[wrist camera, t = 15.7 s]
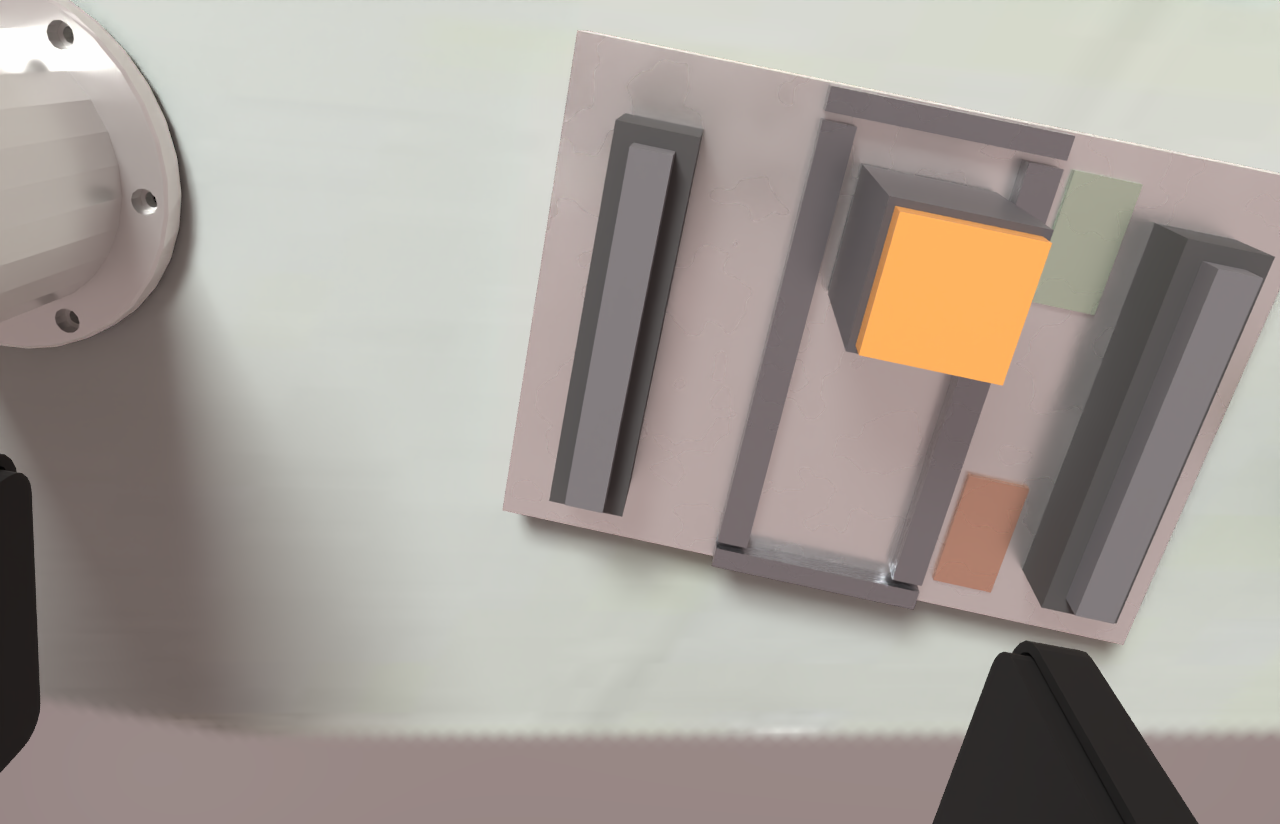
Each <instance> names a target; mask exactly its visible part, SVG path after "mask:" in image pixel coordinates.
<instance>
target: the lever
mask: <svg viewBox="0 0 1280 824" xmlns="http://www.w3.org/2000/svg"><path fill="white" fill-rule="evenodd" d="M1053 231H1054V230H1053V229H1051V228H1050V227H1048V226H1047V225H1045V224H1044V223H1042V222H1041V221H1039V220H1038V219H1036V218H1035V217H1033V216H1032V215H1030V214H1029V213H1027V212H1026V211H1024V210H1022V209H1021V208H1019V207H1018V206H1016V205H1015V204H1013V203H1012V202H1010V201H1009V200H1007V199H1006V198H1004V197H1003V196H1001V195H1000V194H998V193H997V192H994V191H989V190H984V189H979V188H974V187H970V186H965V185H960V184H955V183H950V182H946V181H941V180H936V179H931V178H926V177H921V176H917V175H912V174H907V173H902V172H897V171H892V170H888V169H883V168H878V167H873V166H868V165H864V164H862V167H861V171H860V175H859V178H858V182H857V186H856V190H855V193H854V197H853V201H852V205H851V208H850V212H849V216H848V220H847V223H846V227H845V231H844V235H843V238H842V242H841V246H840V250H839V253H838V257H837V261H836V264H835V268H834V272H833V276H832V279H831V283H830V287H829V291H828V296H829V299H830V302H831V306H832V309H833V312H834V315H835V318H836V322H837V325H838V328H839V331H840V335H841V338H842V341H843V344H844V347H845V351H846V352H851V353H856V354H859V355H860V356H865V357H870V358H875V359H879V360H884V361H889V362H893V363H898V364H903V365H908V366H912V367H917V368H922V369H926V370H931V371H936V372H941V373H945V374H950V375H955V376H960V377H964V378H969V379H974V380H978V381H983V382H988V383H993V384H997V385H1002V386H1003V384H1004V381H1005V378H1006V375H1007V372H1008V369H1009V366H1010V363H1011V360H1012V358H1013V355H1014V352H1015V349H1016V346H1017V343H1018V340H1019V337H1020V335H1021V332H1022V329H1023V326H1024V323H1025V320H1026V317H1027V314H1028V311H1029V309H1030V306H1031V303H1032V300H1033V297H1034V294H1035V291H1036V288H1037V286H1038V283H1039V280H1040V277H1041V274H1042V271H1043V268H1044V265H1045V262H1046V260H1047V257H1048V254H1049V251H1050V248H1051V245H1052V243H1051V242H1050V240H1051V237H1052V234H1053Z"/></svg>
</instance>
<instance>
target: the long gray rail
mask: <svg viewBox="0 0 1280 824" xmlns="http://www.w3.org/2000/svg"><path fill="white" fill-rule="evenodd" d="M703 131H704V129H700V128H695V127H690V126H685V125H681V124H676V123H671V122H666V121H661V120H656V119H652V118H647V117H642V116H637V115H632V114H628V113H624V114H623V115H622V116H620V117H619V118H617V119H616V120H615V126H614V132H613V137H612V143H611V149H610V154H609V160H608V166H607V172H606V177H605V183H604V189H603V195H602V200H601V206H600V212H599V217H598V223H597V229H596V235H595V240H594V246H593V252H592V258H591V263H590V269H589V275H588V281H587V286H586V292H585V298H584V303H583V309H582V315H581V321H580V326H579V332H578V338H577V344H576V349H575V355H574V361H573V366H572V372H571V378H570V384H569V389H568V395H567V401H566V407H565V412H564V418H563V424H562V429H561V435H560V441H559V447H558V452H557V458H556V464H555V470H554V475H553V481H552V487H551V492H550V498H549V501H551V502H556V503H561V504H565V505H567V506H571V507H576V508H581V509H585V510H590V511H595V512H599V513H607V514H612V515H616V516H621V517H622V516H623V512H624V508H625V504H626V500H627V496H628V492H629V488H630V483H631V479H632V474H633V469H634V464H635V459H636V455H637V450H638V445H639V440H640V435H641V430H642V426H643V421H644V416H645V411H646V406H647V401H648V397H649V392H650V387H651V382H652V377H653V372H654V368H655V363H656V358H657V353H658V348H659V343H660V339H661V334H662V329H663V324H664V319H665V314H666V310H667V305H668V300H669V295H670V290H671V285H672V281H673V276H674V271H675V266H676V261H677V256H678V252H679V247H680V242H681V237H682V232H683V227H684V223H685V218H686V213H687V208H688V203H689V198H690V194H691V189H692V184H693V179H694V174H695V169H696V165H697V160H698V155H699V150H700V145H701V140H702V136H703ZM1274 258H1275V256H1272V255H1270V254H1268V253H1265V252H1263V251H1261V250H1258V249H1256V248H1254V247H1251V246H1249V245H1247V244H1244V243H1242V242H1240V241H1238V240H1235V239H1230V238H1226V237H1221V236H1216V235H1211V234H1206V233H1201V232H1197V231H1192V230H1187V229H1182V228H1177V227H1172V226H1168V225H1163V224H1158V223H1155V224H1154V226H1153V229H1152V231H1151V234H1150V237H1149V239H1148V242H1147V244H1146V247H1145V250H1144V252H1143V255H1142V258H1141V260H1140V263H1139V265H1138V268H1137V271H1136V273H1135V276H1134V278H1133V281H1132V284H1131V286H1130V289H1129V292H1128V294H1127V297H1126V299H1125V302H1124V305H1123V307H1122V310H1121V312H1120V315H1119V318H1118V320H1117V323H1116V326H1115V328H1114V331H1113V333H1112V336H1111V339H1110V341H1109V344H1108V346H1107V349H1106V352H1105V354H1104V357H1103V360H1102V362H1101V365H1100V367H1099V370H1098V373H1097V375H1096V378H1095V380H1094V383H1093V386H1092V388H1091V391H1090V394H1089V396H1088V399H1087V401H1086V404H1085V407H1084V409H1083V412H1082V414H1081V417H1080V420H1079V422H1078V425H1077V427H1076V430H1075V433H1074V435H1073V438H1072V441H1071V443H1070V446H1069V448H1068V451H1067V454H1066V456H1065V459H1064V461H1063V464H1062V467H1061V469H1060V472H1059V475H1058V477H1057V480H1056V482H1055V485H1054V488H1053V490H1052V493H1051V495H1050V498H1049V501H1048V503H1047V506H1046V509H1045V511H1044V514H1043V516H1042V519H1041V522H1040V524H1039V527H1038V529H1037V532H1036V535H1035V537H1034V540H1033V543H1032V545H1031V548H1030V550H1029V553H1028V556H1027V558H1026V561H1025V563H1024V566H1023V569H1022V570H1023V572H1024V574H1025V576H1026V578H1027V580H1028V582H1029V584H1030V586H1031V588H1032V590H1033V592H1034V594H1035V596H1036V598H1037V600H1038V602H1039V604H1040V606H1041V608H1046V609H1050V610H1055V611H1060V612H1064V613H1069V614H1073V615H1075V616H1079V617H1084V618H1089V619H1093V620H1098V621H1103V622H1107V623H1112V624H1114V623H1115V624H1116V623H1117V621H1118V619H1119V616H1120V614H1121V612H1122V610H1123V607H1124V605H1125V603H1126V600H1127V598H1128V596H1129V593H1130V591H1131V589H1132V586H1133V584H1134V582H1135V580H1136V577H1137V575H1138V573H1139V570H1140V568H1141V566H1142V563H1143V561H1144V559H1145V556H1146V554H1147V552H1148V549H1149V547H1150V545H1151V543H1152V540H1153V538H1154V536H1155V533H1156V531H1157V529H1158V526H1159V524H1160V522H1161V519H1162V517H1163V515H1164V513H1165V510H1166V508H1167V506H1168V503H1169V501H1170V499H1171V496H1172V494H1173V492H1174V489H1175V487H1176V485H1177V482H1178V480H1179V478H1180V476H1181V473H1182V471H1183V469H1184V466H1185V464H1186V462H1187V459H1188V457H1189V455H1190V452H1191V450H1192V448H1193V446H1194V443H1195V441H1196V439H1197V436H1198V434H1199V432H1200V429H1201V427H1202V425H1203V422H1204V420H1205V418H1206V415H1207V413H1208V411H1209V409H1210V406H1211V404H1212V402H1213V399H1214V397H1215V395H1216V392H1217V390H1218V388H1219V385H1220V383H1221V381H1222V379H1223V376H1224V374H1225V372H1226V369H1227V367H1228V365H1229V362H1230V360H1231V358H1232V355H1233V353H1234V351H1235V348H1236V346H1237V344H1238V342H1239V339H1240V337H1241V335H1242V332H1243V330H1244V328H1245V325H1246V323H1247V321H1248V318H1249V316H1250V314H1251V312H1252V309H1253V307H1254V305H1255V302H1256V300H1257V298H1258V295H1259V293H1260V291H1261V288H1262V286H1263V284H1264V281H1265V279H1266V277H1267V275H1268V272H1269V270H1270V268H1271V265H1272V263H1273V261H1274Z"/></svg>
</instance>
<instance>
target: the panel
mask: <svg viewBox="0 0 1280 824" xmlns="http://www.w3.org/2000/svg"><path fill="white" fill-rule="evenodd" d="M624 113H628V114H632V115H637V116H642V117H647V118H652V119H656V120H661V121H666V122H671V123H676V124H681V125H685V126H690V127H695V128H700V129H704V131H703V136H702V140H701V145H700V150H699V155H698V160H697V165H696V169H695V174H694V179H693V184H692V189H691V194H690V198H689V203H688V208H687V213H686V218H685V223H684V227H683V232H682V237H681V242H680V247H679V252H678V256H677V261H676V266H675V271H674V276H673V281H672V285H671V290H670V295H669V300H668V305H667V310H666V314H665V319H664V324H663V329H662V334H661V339H660V343H659V348H658V353H657V358H656V363H655V368H654V372H653V377H652V382H651V387H650V392H649V397H648V401H647V406H646V411H645V416H644V421H643V426H642V430H641V435H640V440H639V445H638V450H637V455H636V459H635V464H634V469H633V474H632V479H631V483H630V488H629V492H628V496H627V500H626V504H625V508H624V512H623V516H622V517H621V516H616V515H612V514H607V513H599V512H595V511H590V510H585V509H581V508H576V507H571V506H567V505H565V504H561V503H556V502H551V501H549V498H550V492H551V487H552V481H553V475H554V470H555V464H556V458H557V452H558V447H559V441H560V435H561V429H562V424H563V418H564V412H565V407H566V401H567V395H568V389H569V384H570V378H571V372H572V366H573V361H574V355H575V349H576V344H577V338H578V332H579V326H580V321H581V315H582V309H583V303H584V298H585V292H586V286H587V281H588V275H589V269H590V263H591V258H592V252H593V246H594V240H595V235H596V229H597V223H598V217H599V212H600V206H601V200H602V195H603V189H604V183H605V177H606V172H607V166H608V160H609V154H610V149H611V143H612V137H613V132H614V126H615V120H616V119H617V118H619V117H620V116H622V115H623V114H624ZM862 164H864V165H868V166H873V167H878V168H883V169H888V170H892V171H897V172H902V173H907V174H912V175H917V176H921V177H926V178H931V179H936V180H941V181H946V182H950V183H955V184H960V185H965V186H970V187H974V188H979V189H984V190H989V191H994V192H997V193H998V194H1000V195H1001V196H1003V197H1004V198H1006V199H1007V200H1009V201H1010V202H1012V203H1013V204H1015V205H1016V206H1018V207H1019V208H1021V209H1022V210H1024V211H1026V212H1027V213H1029V214H1030V215H1032V216H1033V217H1035V218H1036V219H1038V220H1039V221H1041V222H1042V223H1044V224H1045V225H1047V226H1048V227H1050V228H1051V229H1053V230H1054V231H1053V234H1052V237H1051V240H1050V242H1051V243H1052V245H1051V248H1050V251H1049V254H1048V257H1047V260H1046V262H1045V265H1044V268H1043V271H1042V274H1041V277H1040V280H1039V283H1038V286H1037V288H1036V291H1035V294H1034V297H1033V300H1032V303H1031V306H1030V309H1029V311H1028V314H1027V317H1026V320H1025V323H1024V326H1023V329H1022V332H1021V335H1020V337H1019V340H1018V343H1017V346H1016V349H1015V352H1014V355H1013V358H1012V360H1011V363H1010V366H1009V369H1008V372H1007V375H1006V378H1005V381H1004V384H1003V386H1002V385H997V384H993V383H988V382H983V381H978V380H974V379H969V378H964V377H960V376H955V375H950V374H945V373H941V372H936V371H931V370H926V369H922V368H917V367H912V366H908V365H903V364H898V363H893V362H889V361H884V360H879V359H875V358H870V357H865V356H860V355H859V354H856V353H851V352H846V351H845V347H844V344H843V341H842V338H841V335H840V331H839V328H838V325H837V322H836V318H835V315H834V312H833V309H832V306H831V302H830V299H829V296H828V291H829V287H830V283H831V279H832V276H833V272H834V268H835V264H836V261H837V257H838V253H839V250H840V246H841V242H842V238H843V235H844V231H845V227H846V223H847V220H848V216H849V212H850V208H851V205H852V201H853V197H854V193H855V190H856V186H857V182H858V178H859V175H860V171H861V167H862ZM1155 223H1158V224H1163V225H1168V226H1172V227H1177V228H1182V229H1187V230H1192V231H1197V232H1201V233H1206V234H1211V235H1216V236H1221V237H1226V238H1230V239H1235V240H1238V241H1240V242H1242V243H1244V244H1247V245H1249V246H1251V247H1254V248H1256V249H1258V250H1261V251H1263V252H1265V253H1268V254H1270V255H1272V256H1275V258H1274V261H1273V263H1272V265H1271V268H1270V270H1269V272H1268V275H1267V277H1266V279H1265V281H1264V284H1263V286H1262V288H1261V291H1260V293H1259V295H1258V298H1257V300H1256V302H1255V305H1254V307H1253V309H1252V312H1251V314H1250V316H1249V318H1248V321H1247V323H1246V325H1245V328H1244V330H1243V332H1242V335H1241V337H1240V339H1239V342H1238V344H1237V346H1236V348H1235V351H1234V353H1233V355H1232V358H1231V360H1230V362H1229V365H1228V367H1227V369H1226V372H1225V374H1224V376H1223V379H1222V381H1221V383H1220V385H1219V388H1218V390H1217V392H1216V395H1215V397H1214V399H1213V402H1212V404H1211V406H1210V409H1209V411H1208V413H1207V415H1206V418H1205V420H1204V422H1203V425H1202V427H1201V429H1200V432H1199V434H1198V436H1197V439H1196V441H1195V443H1194V446H1193V448H1192V450H1191V452H1190V455H1189V457H1188V459H1187V462H1186V464H1185V466H1184V469H1183V471H1182V473H1181V476H1180V478H1179V480H1178V482H1177V485H1176V487H1175V489H1174V492H1173V494H1172V496H1171V499H1170V501H1169V503H1168V506H1167V508H1166V510H1165V513H1164V515H1163V517H1162V519H1161V522H1160V524H1159V526H1158V529H1157V531H1156V533H1155V536H1154V538H1153V540H1152V543H1151V545H1150V547H1149V549H1148V552H1147V554H1146V556H1145V559H1144V561H1143V563H1142V566H1141V568H1140V570H1139V573H1138V575H1137V577H1136V580H1135V582H1134V584H1133V586H1132V589H1131V591H1130V593H1129V596H1128V598H1127V600H1126V603H1125V605H1124V607H1123V610H1122V612H1121V614H1120V616H1119V619H1118V621H1117V623H1116V624H1115V623H1114V624H1112V623H1107V622H1103V621H1098V620H1093V619H1089V618H1084V617H1079V616H1075V615H1073V614H1069V613H1064V612H1060V611H1055V610H1050V609H1046V608H1041V606H1040V604H1039V602H1038V600H1037V598H1036V596H1035V594H1034V592H1033V590H1032V588H1031V586H1030V584H1029V582H1028V580H1027V578H1026V576H1025V574H1024V572H1023V570H1022V569H1023V566H1024V563H1025V561H1026V558H1027V556H1028V553H1029V550H1030V548H1031V545H1032V543H1033V540H1034V537H1035V535H1036V532H1037V529H1038V527H1039V524H1040V522H1041V519H1042V516H1043V514H1044V511H1045V509H1046V506H1047V503H1048V501H1049V498H1050V495H1051V493H1052V490H1053V488H1054V485H1055V482H1056V480H1057V477H1058V475H1059V472H1060V469H1061V467H1062V464H1063V461H1064V459H1065V456H1066V454H1067V451H1068V448H1069V446H1070V443H1071V441H1072V438H1073V435H1074V433H1075V430H1076V427H1077V425H1078V422H1079V420H1080V417H1081V414H1082V412H1083V409H1084V407H1085V404H1086V401H1087V399H1088V396H1089V394H1090V391H1091V388H1092V386H1093V383H1094V380H1095V378H1096V375H1097V373H1098V370H1099V367H1100V365H1101V362H1102V360H1103V357H1104V354H1105V352H1106V349H1107V346H1108V344H1109V341H1110V339H1111V336H1112V333H1113V331H1114V328H1115V326H1116V323H1117V320H1118V318H1119V315H1120V312H1121V310H1122V307H1123V305H1124V302H1125V299H1126V297H1127V294H1128V292H1129V289H1130V286H1131V284H1132V281H1133V278H1134V276H1135V273H1136V271H1137V268H1138V265H1139V263H1140V260H1141V258H1142V255H1143V252H1144V250H1145V247H1146V244H1147V242H1148V239H1149V237H1150V234H1151V231H1152V229H1153V226H1154V224H1155ZM1279 289H1280V173H1278V172H1273V171H1268V170H1264V169H1259V168H1254V167H1249V166H1244V165H1239V164H1234V163H1230V162H1225V161H1220V160H1215V159H1210V158H1205V157H1200V156H1196V155H1191V154H1186V153H1181V152H1176V151H1171V150H1166V149H1162V148H1157V147H1152V146H1147V145H1142V144H1137V143H1132V142H1127V141H1123V140H1118V139H1113V138H1108V137H1103V136H1098V135H1093V134H1089V133H1084V132H1079V131H1074V130H1069V129H1064V128H1059V127H1055V126H1050V125H1045V124H1040V123H1035V122H1030V121H1025V120H1020V119H1016V118H1011V117H1006V116H1001V115H996V114H991V113H986V112H982V111H977V110H972V109H967V108H962V107H957V106H952V105H948V104H943V103H938V102H933V101H928V100H923V99H918V98H914V97H909V96H904V95H899V94H894V93H889V92H884V91H879V90H875V89H870V88H865V87H860V86H855V85H850V84H845V83H841V82H836V81H831V80H826V79H821V78H816V77H811V76H807V75H802V74H797V73H792V72H787V71H782V70H777V69H773V68H768V67H763V66H758V65H753V64H748V63H743V62H738V61H734V60H729V59H724V58H719V57H714V56H709V55H704V54H700V53H695V52H690V51H685V50H680V49H675V48H670V47H666V46H661V45H656V44H651V43H646V42H641V41H636V40H631V39H627V38H622V37H617V36H612V35H607V34H602V33H597V32H593V31H588V30H583V31H577V36H576V42H575V49H574V55H573V62H572V68H571V74H570V81H569V87H568V94H567V100H566V106H565V113H564V119H563V126H562V132H561V139H560V145H559V151H558V158H557V164H556V171H555V177H554V183H553V190H552V196H551V203H550V209H549V216H548V222H547V228H546V235H545V241H544V248H543V254H542V260H541V267H540V273H539V280H538V286H537V293H536V299H535V305H534V312H533V318H532V325H531V331H530V337H529V344H528V350H527V357H526V363H525V370H524V376H523V382H522V389H521V395H520V402H519V408H518V414H517V421H516V427H515V434H514V440H513V447H512V453H511V459H510V466H509V472H508V479H507V485H506V491H505V498H504V504H503V510H504V511H508V512H513V513H517V514H522V515H527V516H531V517H536V518H540V519H545V520H550V521H554V522H559V523H563V524H568V525H573V526H577V527H582V528H587V529H591V530H596V531H600V532H605V533H610V534H614V535H619V536H623V537H628V538H633V539H637V540H642V541H646V542H651V543H656V544H660V545H665V546H670V547H674V548H679V549H683V550H688V551H693V552H697V553H702V554H706V555H711V556H712V566H714V567H719V568H724V569H728V570H733V571H737V572H742V573H747V574H751V575H756V576H760V577H765V578H770V579H774V580H779V581H783V582H788V583H793V584H797V585H802V586H806V587H811V588H816V589H820V590H825V591H829V592H834V593H839V594H843V595H848V596H852V597H857V598H862V599H866V600H871V601H875V602H880V603H885V604H889V605H894V606H898V607H903V608H908V609H912V610H914V607H915V604H916V601H917V600H918V601H923V602H928V603H932V604H937V605H941V606H946V607H951V608H955V609H960V610H964V611H969V612H974V613H978V614H983V615H988V616H992V617H997V618H1001V619H1006V620H1011V621H1015V622H1020V623H1024V624H1029V625H1034V626H1038V627H1043V628H1047V629H1052V630H1057V631H1061V632H1066V633H1070V634H1075V635H1080V636H1084V637H1089V638H1094V639H1098V640H1103V641H1107V642H1112V643H1117V644H1121V645H1123V644H1124V642H1125V639H1126V637H1127V635H1128V633H1129V630H1130V628H1131V626H1132V624H1133V621H1134V619H1135V617H1136V614H1137V612H1138V610H1139V608H1140V605H1141V603H1142V601H1143V599H1144V596H1145V594H1146V592H1147V589H1148V587H1149V585H1150V583H1151V580H1152V578H1153V576H1154V574H1155V571H1156V569H1157V567H1158V564H1159V562H1160V560H1161V558H1162V555H1163V553H1164V551H1165V549H1166V546H1167V544H1168V542H1169V539H1170V537H1171V535H1172V533H1173V530H1174V528H1175V526H1176V524H1177V521H1178V519H1179V517H1180V514H1181V512H1182V510H1183V508H1184V505H1185V503H1186V501H1187V499H1188V496H1189V494H1190V492H1191V489H1192V487H1193V485H1194V483H1195V480H1196V478H1197V476H1198V474H1199V471H1200V469H1201V467H1202V464H1203V462H1204V460H1205V458H1206V455H1207V453H1208V451H1209V449H1210V446H1211V444H1212V442H1213V439H1214V437H1215V435H1216V433H1217V430H1218V428H1219V426H1220V424H1221V421H1222V419H1223V417H1224V414H1225V412H1226V410H1227V408H1228V405H1229V403H1230V401H1231V399H1232V396H1233V394H1234V392H1235V389H1236V387H1237V385H1238V383H1239V380H1240V378H1241V376H1242V374H1243V371H1244V369H1245V367H1246V364H1247V362H1248V360H1249V358H1250V355H1251V353H1252V351H1253V348H1254V346H1255V344H1256V342H1257V339H1258V337H1259V335H1260V333H1261V330H1262V328H1263V326H1264V323H1265V321H1266V319H1267V317H1268V314H1269V312H1270V310H1271V308H1272V305H1273V303H1274V301H1275V298H1276V296H1277V294H1278V292H1279Z"/></svg>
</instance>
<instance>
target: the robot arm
mask: <svg viewBox="0 0 1280 824" xmlns="http://www.w3.org/2000/svg"><path fill="white" fill-rule="evenodd" d="M72 31H73V35H74V38H73V36H72ZM153 196H154V197H155V198H156V202H157V204H156V203H155V201H154V200H153ZM180 209H181V186H180V177H179V169H178V160H177V155H176V152H175V149H174V145H173V142H172V138H171V135H170V132H169V128H168V125H167V122H166V119H165V117H164V115H163V113H162V111H161V109H160V107H159V105H158V103H157V101H156V98H155V96H154V94H153V92H152V90H151V88H150V86H149V84H148V83H147V81H146V80H145V78H144V77H143V75H142V74H141V73H140V71H139V70H138V68H137V67H136V65H135V64H134V62H133V61H132V60H131V58H130V57H129V55H128V54H127V52H126V51H125V50H124V49H123V48H122V47H121V46H120V45H119V44H118V42H117V41H116V40H115V39H114V38H113V37H112V36H111V35H110V34H109V33H108V32H107V31H106V30H105V29H104V28H103V27H102V26H101V25H100V23H99V22H98V21H96V20H95V19H94V18H93V17H91V16H90V15H89V14H87V13H86V12H85V11H83V10H82V9H81V8H79V7H78V6H77V5H76V4H74V3H73V2H72V1H70V0H0V345H2V346H10V347H18V348H26V349H30V348H44V347H59V346H62V345H66V344H69V343H72V342H76V341H79V340H83V339H86V338H89V337H91V336H93V335H95V334H97V333H99V332H101V331H104V330H106V329H108V328H110V327H112V326H114V325H115V324H117V323H118V322H120V321H121V320H122V319H124V318H125V317H126V316H128V315H129V314H131V313H132V312H133V311H135V310H136V309H138V307H139V306H140V305H141V304H142V303H143V302H144V300H145V299H146V298H147V297H148V296H149V295H150V293H151V292H152V291H153V290H154V289H155V288H156V286H157V285H158V283H159V281H160V279H161V277H162V275H163V273H164V271H165V269H166V267H167V266H168V264H169V262H170V260H171V257H172V253H173V249H174V245H175V242H176V238H177V234H178V231H179V224H180ZM39 713H40V685H39V661H38V636H37V612H36V588H35V563H34V539H33V515H32V491H31V485H30V482H29V480H28V478H27V477H26V476H25V475H24V474H22V473H17V472H16V467H15V466H14V464H13V462H12V460H11V459H10V458H9V457H7V456H6V455H4V454H0V772H1V771H2V770H3V769H4V768H5V767H6V766H7V765H8V764H9V763H10V761H11V760H12V759H13V758H14V757H15V756H16V755H17V754H18V753H19V752H20V750H21V749H22V748H23V747H24V746H25V744H26V743H27V742H28V740H29V739H30V737H31V735H32V733H33V731H34V729H35V726H36V724H37V721H38V716H39ZM933 824H1198V822H1197V821H1196V819H1195V818H1194V816H1193V815H1192V813H1191V812H1190V810H1189V808H1188V807H1187V805H1186V804H1185V802H1184V801H1183V799H1182V797H1181V796H1180V794H1179V793H1178V791H1177V790H1176V788H1175V787H1174V785H1173V784H1172V782H1171V781H1170V779H1169V777H1168V776H1167V774H1166V773H1165V771H1164V770H1163V768H1162V767H1161V765H1160V763H1159V762H1158V760H1157V759H1156V757H1155V756H1154V754H1153V753H1152V751H1151V749H1150V748H1149V746H1148V745H1147V743H1146V742H1145V740H1144V739H1143V737H1142V735H1141V734H1140V732H1139V731H1138V729H1137V728H1136V726H1135V725H1134V723H1133V722H1132V720H1131V718H1130V717H1129V715H1128V714H1127V712H1126V711H1125V709H1124V708H1123V706H1122V705H1121V703H1120V701H1119V700H1118V698H1117V697H1116V695H1115V694H1114V692H1113V691H1112V689H1111V687H1110V686H1109V684H1108V683H1107V681H1106V680H1105V678H1104V677H1103V675H1102V674H1101V672H1100V670H1099V669H1098V667H1097V666H1096V664H1095V663H1094V661H1093V660H1092V658H1091V657H1090V656H1089V655H1088V654H1087V653H1086V652H1083V651H1080V650H1075V649H1069V648H1064V647H1058V646H1053V645H1047V644H1042V643H1036V642H1031V641H1024V642H1022V643H1020V644H1019V645H1018V646H1017V647H1016V648H1015V649H1014V651H1013V653H1008V652H1002V653H1000V654H999V655H998V656H997V657H996V658H995V660H994V662H993V664H992V666H991V669H990V671H989V674H988V677H987V679H986V682H985V685H984V687H983V690H982V693H981V695H980V698H979V701H978V703H977V706H976V709H975V712H974V714H973V717H972V720H971V722H970V725H969V728H968V730H967V733H966V736H965V738H964V741H963V744H962V746H961V749H960V752H959V754H958V757H957V760H956V763H955V765H954V768H953V770H952V773H951V776H950V779H949V781H948V784H947V786H946V789H945V792H944V794H943V797H942V800H941V803H940V805H939V808H938V811H937V813H936V816H935V818H934V821H933Z"/></svg>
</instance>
